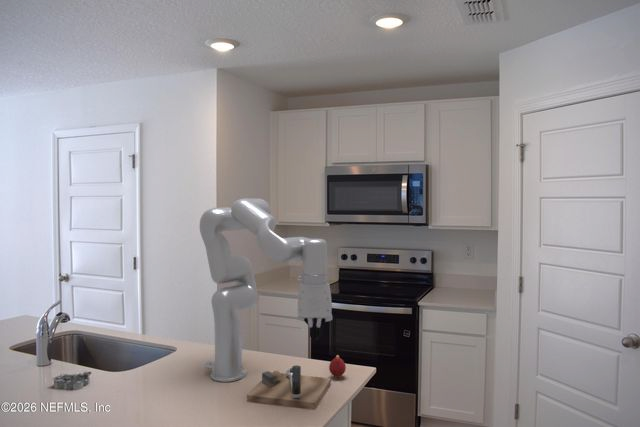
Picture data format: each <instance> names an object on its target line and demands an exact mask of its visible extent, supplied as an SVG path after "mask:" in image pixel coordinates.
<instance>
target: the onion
mask: <svg viewBox="0 0 640 427" xmlns="http://www.w3.org/2000/svg"><path fill="white" fill-rule="evenodd" d="M346 368H347V365H346V363H345V361H344V360H343V359H342V358H340V355H339V354H337V355H336V356H335V357H334V358H333V359H332V360H331V361H330V363H329V366H328V369H329V372H330V374H331V375H332V376H333V377H334V378H336V379H339V378H340V377H341V376H343V374H344V373H345V372H346Z"/></svg>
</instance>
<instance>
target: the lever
mask: <svg viewBox="0 0 640 427" xmlns="http://www.w3.org/2000/svg"><path fill="white" fill-rule="evenodd" d="M301 368H302V367H301V365H297V364H296V365H292V367H290V368H289V369H288V370H286V372H285V374H286V377H288V378H289V379H290V385H291V391H292V397H293V398H301V394H300V393H301V375H302V374H301V373H302V372H301Z"/></svg>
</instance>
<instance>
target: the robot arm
mask: <svg viewBox="0 0 640 427" xmlns="http://www.w3.org/2000/svg"><path fill="white" fill-rule="evenodd" d="M276 226H277V221H276V218H275V217H274V215H272V214H271V207H270V204H269V203H268V202H267V201H266V200H264V199H262V198H240V199H237V200H236V201H234V202H233V203H232V204H231V206H230V207H227V206H223V207H221V206H220V207H212V208H209V209H207V210H205V211H204V212H203V214H202V215H201V217H200V220H199V234H200V236H201V239H202V241H203V244H204V247H205V251H206V252H205V253H206V258H207V262H208V263H207V264H208V268H209V272H210V277H211V279H212V281H213V282H214V283H215V284H217V285H220V284H221V285H223V284H230V283H234V284H235V285H229V286H225V287H222V288H219V289H216V291H215V292H214V293H213V294H212V296H211V308H212V313H213V320H214V321H213V322H214V324H213V325H214V361H211V360H207V361H205V370H206V369H207V370H209V369H210V370H211V371H210V373H209V374H210V375H209V376H210V379H211V380H212V381H213V380H214V381H216V382H220V383H223V382H224V383H229V382H235V381H239V380H242V379H244V378H245V377H246V376H247V369H245V368H243V328H242V326H243V325H242V322H241V319H240V318H239V316H238V314H237V313H240V312H244V311H247V310H251V309H252V308H255V306H256V305H257V302H258V298H259V297H258V296H259V295H258V290H257V289H258V288H257V284H256V279H255V274H254V270H253V265H252V263H251V261H250V260H249V258H248V257H246V256H245V255H241V254H240V255H239V254H237V255H233V254H232V250H231V245H230V243H229V241H228V238H227V237H226V236H225V235H224V234H223V233H222V232H231V231H241V230H245V229H247V230H248V231H249V232H250V233H252V234H253V235H254V236H255V237H256V242H257V246H259V247H258V248H259V249H260V250H261V251H262V252H263V253H264V254H265V255H266V256H268V257H269V258H270V259H272V260H274V261H275V262H277V263H279V264H280V263H281V264H287V263H292V262H301V261H302V262H301V263H302V264H301V265H302V269H301V270H302V273H301V274H300V275H297V281H300V282H301V283H300V284H299V288H298V294H297V318H296V319H297V321H301V322H305V323H306V324H307V326H308V327H309V337H310V338H311V341H315V342H317V341H318V339H319V338H321V326H323V324H324V323H326V322H331V321H332V320H333V314H332V310H333V309H332V306H333V305H332V294H331V293H332V292H331V287H330V283H328V243H327V241H326V239H323V238H308V237H306V236H293V237H284V238H283V237H281V236H280V235H277V234H276V233H275V232H274V231H275V228H276ZM314 319H316V323H314Z"/></svg>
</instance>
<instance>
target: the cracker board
mask: <svg viewBox="0 0 640 427" xmlns="http://www.w3.org/2000/svg"><path fill="white" fill-rule="evenodd" d="M331 383H332V379H331V377H321V376H311V375H303V374H301V393H300V394H301V398H293V397H292V391H291V385H290V379H289V378H288V377H286V373H283V372H280V371H278V370H273V371H263V372H262V373H261V380H260V381H259V383H257V384H256V386H254V387H253V389H252V390H251V391H250V392H248V394H247V395H246V401H247V402H249V403H259V404H266V405H273V406H274V405H275V406H281V407H291V408H297V409H298V408H299V409H307V410H316V409H317V407H318V406H319V405H320V403H321V401H322V400H323V397H324V396H325V394H326V393H327V391H328V390H329V388H330V386H331V385H332V384H331Z"/></svg>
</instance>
